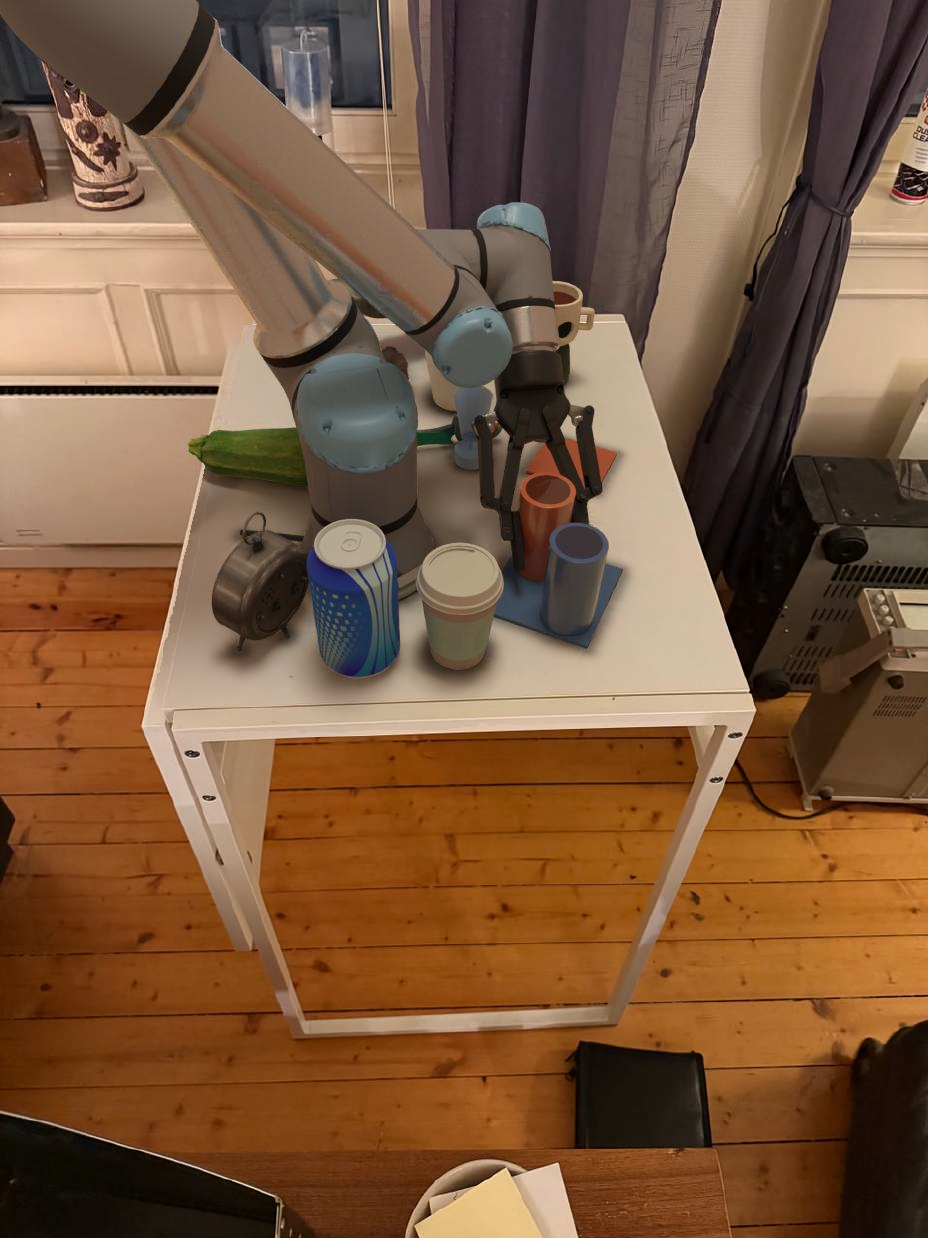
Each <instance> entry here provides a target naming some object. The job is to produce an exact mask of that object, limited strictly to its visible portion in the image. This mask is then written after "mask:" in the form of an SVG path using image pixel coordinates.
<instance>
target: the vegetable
mask: <svg viewBox="0 0 928 1238" xmlns="http://www.w3.org/2000/svg"><path fill="white" fill-rule="evenodd" d="M187 445H188V450H187V451H188V453H190V454H191V455H193V456H195V457H196V458H197V460H199V462H201V463H202V464H203V465H204V467H205V468H206V469H207V470H208V471H209V472H211V473H213V474H216V475H220V476H227V477H236V478H237V477H239V478H245V479H246V478H248V479H257V480H261V481H262V480H263V481H269V482H273V483H280V484H283V485H289V486H295V487H304V488H308V482H307V474H306V467H305V461H304V456H303V451H302V447H301V443H300V439H299V436H298V432H297V428H296V426H294V427H276V428H274V427H273V428H256V429H255V428H254V429H252V428H251V429H243V430H225V429H217V430H216V429H215V430H213V431H212V432H210V433H209V434H205V435H202V436H201V437H196V438H191V439H190V441H189V442H188V444H187Z"/></svg>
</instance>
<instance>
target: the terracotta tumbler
mask: <svg viewBox="0 0 928 1238" xmlns="http://www.w3.org/2000/svg"><path fill="white" fill-rule="evenodd" d="M575 496H576V489H575V486H574V485H573V483H572V482H571V481H570V480H569V479H567V478H566V477H564V476H562V475H559V474H556V473H551V472H540V473H535V474H532V475H531V474H529V475H528V476H526V477H525V478H523V480H522V481H521V483H520V485H519V494H518V505H517V510H519V513H520V522H521V531H522V540H523V549H524V558H525V567H526V570H520V571H517V572H518V573H519V574H520V575H521V576H523V577H524V578H526V579H529V580H532V581H544V575H545V568H546V560H547V553H548V546H549V539H550V535H551V534H552V532H553V531H554V530H555V529H556V528H558V527H559V526H561V525H564V524H568V523H571V521H572V515H573V509H574V502H575Z"/></svg>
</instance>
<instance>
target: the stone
mask: <svg viewBox="0 0 928 1238" xmlns="http://www.w3.org/2000/svg"><path fill="white" fill-rule="evenodd" d="M381 351H382V353H383V356H384V358H385V360H386V363H391V364H393V365H394V366H396V367H397V368H398V369H400V370H401V371H402V373H403V374H404V375H405V376H406V377H407V379H408V380H409V381H410V376H409V373H408V367H409V363H408V362H407V358H406V357H405V355H404V353H402V352H399V350H398V349H397V348H396V347H395V346H392V345H391V346H390V345H389V346H388V345H387V346H385V347H384V348H381Z"/></svg>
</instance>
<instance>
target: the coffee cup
mask: <svg viewBox="0 0 928 1238" xmlns="http://www.w3.org/2000/svg"><path fill="white" fill-rule="evenodd" d="M416 586H417V590H416V591H417V593H418V595H419V597H420V598H421V603H422V609H423V615H424V620H425V626H426V632H427V637H428V642H429V648H430V654H431V656H432V658H433V660H435V662H436V663H438V664H439V665H440V666H441V667H444V668H446V669H450V670H456V671H457V670H458V671H461V670H467V669H471V668H472V667H475V666H476V665H478V664H479V663H480V662H481V661H482V659H483V658H484V656H485V653H486V649H487V646H488V641H489V637H490V633H491V629H492V625H493V621H494V617H495V616H494V613H495V609H496V605H497V601H498V599H499V597H500V596H501V594H502V591H503V586H504V583H503V576H502V570H501V568H500V567H499V564H498V561H497V559H496V558H495V557H494V555H492V553H491V552H489V551H488V550H486V548H483V547H481V546H479V545H476V544H472V543H468V542H451V543H446V544H443V545H440V546H438V547H436V548H434V550H433V551H432V552H430V553H429V554H428V555H427V557H426V558H425V560H424V562H423V564H422V565H421V567H420V569H419V571H418V576H417V580H416Z"/></svg>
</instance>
